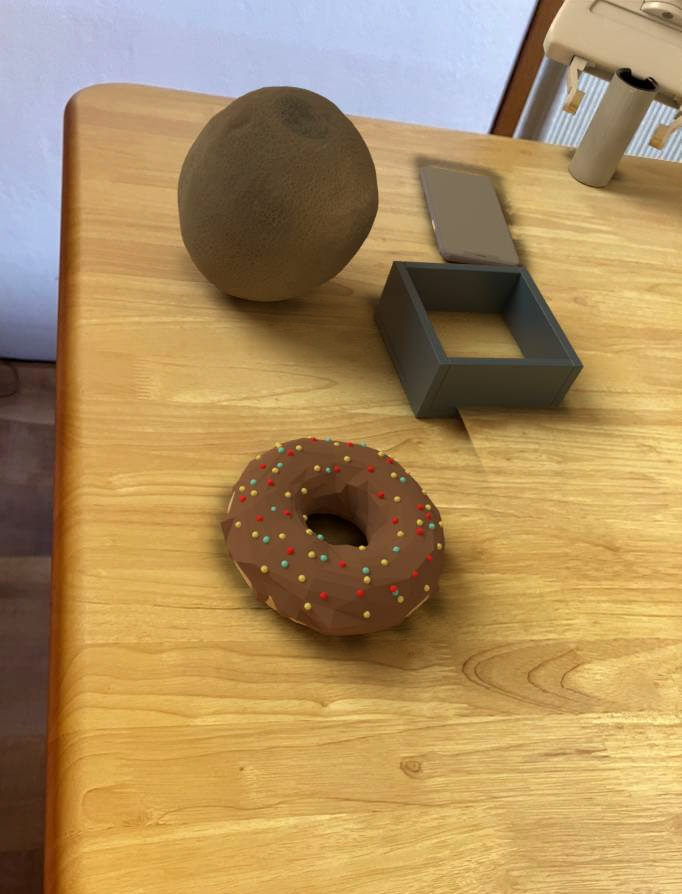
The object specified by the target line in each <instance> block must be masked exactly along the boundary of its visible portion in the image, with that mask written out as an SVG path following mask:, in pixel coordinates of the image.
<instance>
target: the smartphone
mask: <svg viewBox="0 0 682 894" xmlns="http://www.w3.org/2000/svg"><path fill="white" fill-rule="evenodd" d="M419 176H420V181H421V184H422V189H423V192H424V196H425V201H426V205H427V208H428V211H429V215H430V220H431V224H432V229H433V232H434V235H435V239H436V243H437V247H438V251H439V254H440V257H442V258H443V259H444V260H446V261H448V262H454V263H459V264H469V265H489V266H508V267H520V264H521V260H520V258H519V255H518V252H517V250H516V246H515V243H514V241H513V238H512V235H511V231H510V229H509V225H508V223H507V220H506V218H505V215H504V211H503V209H502V206H501V204H500V203H501V202H500V200H499V197H498V194H497V191H496V189H495V186H494V183H493V181H492V180H491V178H489V177H486V176H481V175H476V174H475V175H474V174H471V173H465V172H461V171H460V172H459V171H454V170H448V169H443V168H437V167H432V166H427V165H425V166H424V165H423V166H422V167H421V168H420V171H419Z"/></svg>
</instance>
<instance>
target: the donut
mask: <svg viewBox="0 0 682 894" xmlns="http://www.w3.org/2000/svg"><path fill="white" fill-rule="evenodd" d="M313 514H331V515H332V514H333V515H334V516H337V517H339V518H342V519H344V520H346V521H348V522H350V523H353V524H354V525H355V526H356V527H357V528H358V529H359V530H360V531H361V532H362V533H363V535H364V537H365V538H366V542H367V545H366V546H364V545H360V546H354V545H351V544H336V545H335V544H331V543H329V542H327V541H326V540H324V535H322V534H317V533H315V532H314V531H313V530H312V529H310V528H309V527H308V525H307V522H306V521H308V517H309V516H312V515H313ZM219 524H220V527H221V531H222V535H223V538H224V542H225V545H226V546H227V551H228V553H227V554H228V557H229V558H230V559H232V560H233V561H234V564H235V567H236V568H237V570H238V571H239V573H240V574H241V576H242V578H243V579H244V581H245V582H246V583H247V586H248V587H249V588H250V589H251V590H252V591H253V594H254V597H255V600H256V601H258V602H261V603H264V604H266V605H267V606H268V607H270V608H271V609H273V610H274V611H276V612H277V613H278V615H280V616H281V617H284V618H287V619H289V620H291V621H292V622H294V623H297V624H300V625H303V626H305V627H307V628H309V629H311V630H313V631H315V632H317V633H319V634H320V635H325V636H333V637H340V636H353V635H365V634H371V633H376V632H380V631H384V630H386V629H388V628H391V627H396V626H400V625H401V624H402V623H403V621H404V620H405V618H407V617H408V616H410V615H411V614H412V613H413V612H414V611H416V610H417V609H418V608H419V607H420V606H422V605H423V604H424V603H425V602H426V601H429V600H432V599H433V600H434V598H435V597H436V596H437V595H438V594H439V587H440V578H441V571H442V565H443V558H444V554H445V547H446V540H445V533H444V526H445V525H444V522H443V519H442V516H441V513H440V510H439V508H438V507H437V506H436V504H435V503H433V501H432V499H431V498H430V497H429V496H428V494H427V490H426V489H423V488H422V487H421V485H420V484H419V483H418V481H417V480H416V479H414V478H413V476H412V475H411V471H410V470H408V469H405V468H404V467H403V466H402V465H401V464H400V463H399V462H398V461H396V460H395V456H394V455H393V454H390V455H388V454H386V453H384V452H383V451H380V450H378V449H376V448H373V447H369V446H367V444H366V443H365V442H360V443H353V442H351V441H348V442H347V441H341V440H332V439H331V438H330V437H327V438H325V439H319V438H316V437H315V436H313V435H309V436H308V437H301V438H296V439H293V440H289V441H286V442H279V441H278V442H276V443H275V444H274V447H273V448H270V449H269V450H267V451H266V452H264V453H263V454H260V455H257V456H256V457H255V458H254V459H252V460H250V461H249V463H248V464H247V465H246V467H245V469H244V470H243V472H242V473H241V475H240V477H239V479H238V480H237V481H236V482H235V484H233V486H232V491H231V499H230V500H229V504H228V506H227V514H226V515H225V516H224V517H223V518H222V520H220V522H219Z"/></svg>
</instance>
